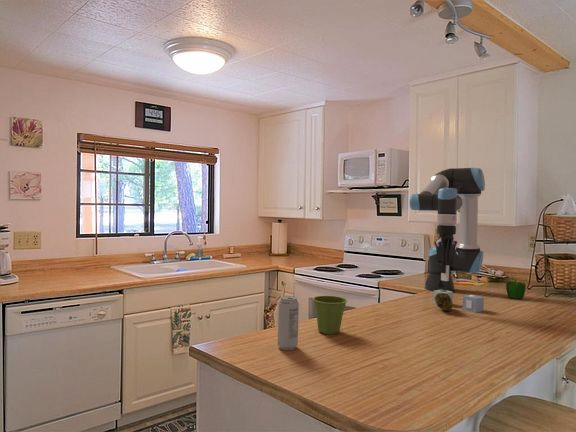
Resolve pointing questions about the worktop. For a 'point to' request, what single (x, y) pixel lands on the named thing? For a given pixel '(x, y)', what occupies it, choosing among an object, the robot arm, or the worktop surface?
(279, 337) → the energy drink can
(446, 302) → the potato
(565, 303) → the worktop surface
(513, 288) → the bell pepper
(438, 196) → the robot arm
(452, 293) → the sage block
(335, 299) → the plant pot
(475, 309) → the slate blue block
